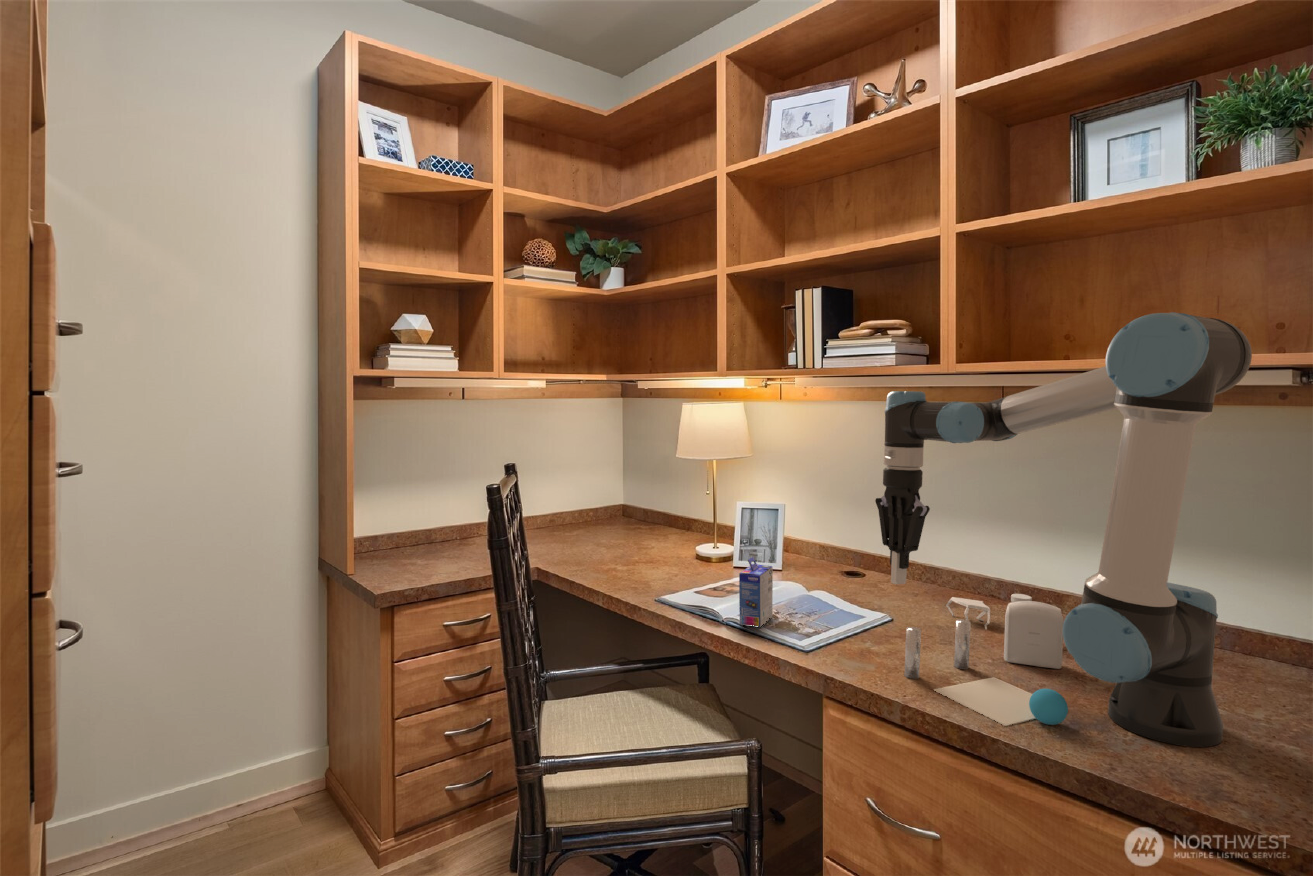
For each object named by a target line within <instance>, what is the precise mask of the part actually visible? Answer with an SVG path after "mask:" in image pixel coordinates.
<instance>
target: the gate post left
mask: <svg viewBox="0 0 1313 876" xmlns="http://www.w3.org/2000/svg"><path fill="white" fill-rule="evenodd" d="M921 638H922V629H921V628H920V627H917V626H908V627H906V628H905V651H904V652H905V654H904V677H905V678H907V679H910V680H917V679H919V678H920V667H921V666H920V665H921V642H922V641H921V640H922V639H921Z"/></svg>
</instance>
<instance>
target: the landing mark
mask: <svg viewBox="0 0 1313 876" xmlns="http://www.w3.org/2000/svg"><path fill="white" fill-rule="evenodd" d="M933 690H934V692H935V691H936V693H937V694H939V693H940V695H941V694H942V696H944V697H945V696H947V697H948V699H949V698H950V700H952V701H953V700H954V701H953V702H955V703H957V704H959V703H960V705H961V706H964V707H965V708H967V707H968V708H967V709H970V710H971V711H973V710H974V711H973V712H975V711H976V713H977V712H978V713H977V714H979V713H980V715H981V714H983V715H984V716H983V715H982V716H983V717H985V718H987V717H989V718H990V719H989V718H988V719H989V720H991V719H992V720H991V721H993V720H995V721H996V722H995V721H994V722H995V723H997V722H998V723H997V724H999V725H1001V724H1002V725H1001V726H1003V727H1010V726H1012V724H1013V725H1018V724H1020V723H1025V722H1028V721H1029V720H1030V721H1033V720H1037V719H1036V718H1035V717H1034V716H1033V714H1032V713H1031V710H1030V707H1029V700H1030V697H1031V696H1032V694H1033V693H1031V692H1029V691H1026V690H1024V689H1022V688H1019V686H1018V687H1017V686H1015V685H1013V684H1011V683H1009V682H1006V681H1004V680H1001V679H1000V678H999V679H998V678H996V677H995V676H992V677H988V678H981V679H979V680H978V679H977V680H972V681H968V682H963V683H959V684H958V683H957V684H954V685H953V684H952V685H949V686H944V687H939V688H934V689H933ZM947 697H946V698H947ZM1069 710H1070V709H1068V712H1069Z"/></svg>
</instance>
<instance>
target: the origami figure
mask: <svg viewBox="0 0 1313 876" xmlns="http://www.w3.org/2000/svg"><path fill="white" fill-rule="evenodd" d="M953 602H954V603H956V604H959V605H961V606H964V607H966V608H965V610H964V617H965V620H968V621H970V620H969V615H968V614H969V611H970V609H974V610H975V609H976V610H980V611H981V612H980V614H978V615H977V616H976V617H975V618H976V619H977V620H979V621H981V622H985V620H984V619H982V617H983V616H984V615H986V616H987V621H986V623H985V624H984V629H985V630H988V625H989V624H991V608H990V607H989V606H988V605H986V604H985V603H984V601H983V600H977V599H969V598H962V597H954V596H952V597H951V598H950V599H949V600H948V601H947V603H946V604H945V606H946V608H947V610H948V611H949V613H951V616H952V617H955V613H954V612H953V610H952V609H951V606H950V605H951V604H952V603H953Z"/></svg>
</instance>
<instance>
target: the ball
mask: <svg viewBox="0 0 1313 876" xmlns="http://www.w3.org/2000/svg"><path fill="white" fill-rule="evenodd" d="M1031 694H1032V696H1031V697H1030V700H1029V707H1030V710H1031V713H1032V714H1033V716H1034V717H1035V718H1036V719H1035V720H1037V721H1039V722H1040V723H1041V724H1042V723H1043V724H1045V725H1050V726H1055V725H1059V724H1061V723H1062V722H1064V721H1065V720H1066V718H1067V716H1068V713H1069V711H1068V710H1069V706H1068V703H1067V701H1066V699H1065V697H1064V696H1062V694H1061V693H1059V692H1058V691H1056V690H1054V689H1052V688H1040V689H1037V690H1036V691H1034V692H1033V693H1031Z"/></svg>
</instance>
